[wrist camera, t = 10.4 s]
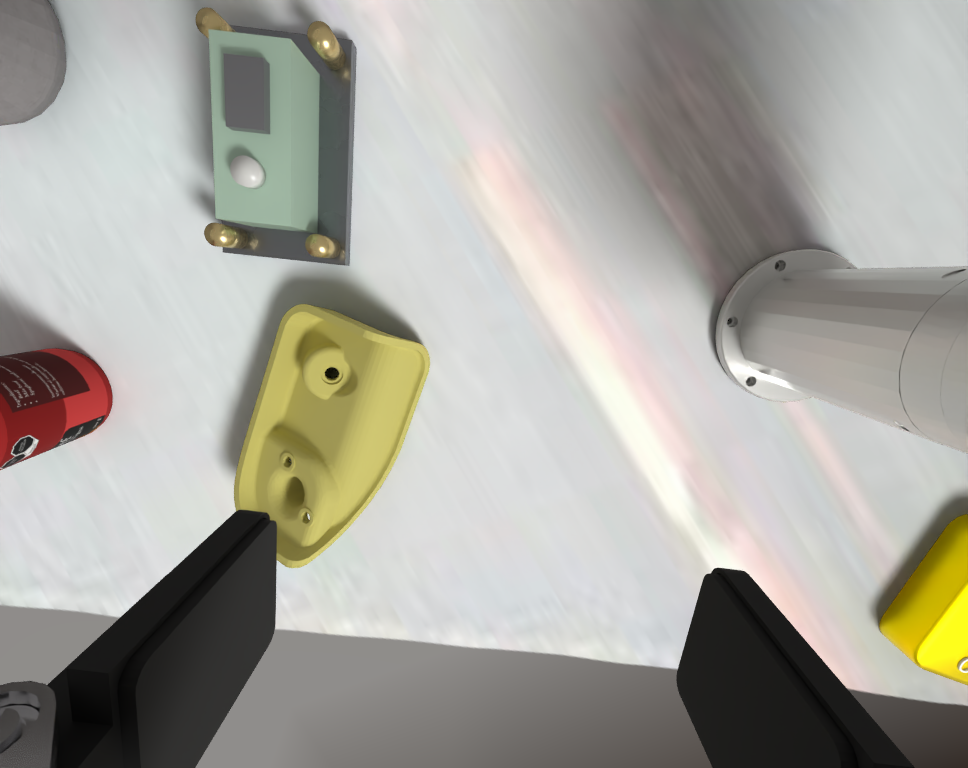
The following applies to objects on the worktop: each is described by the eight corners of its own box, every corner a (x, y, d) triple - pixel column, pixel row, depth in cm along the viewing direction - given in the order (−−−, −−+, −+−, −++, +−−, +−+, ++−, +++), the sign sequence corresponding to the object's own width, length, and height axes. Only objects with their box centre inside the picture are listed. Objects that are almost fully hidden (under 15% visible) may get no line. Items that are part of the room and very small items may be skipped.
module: (319, 74, 32) (283, 30, 26) (317, 233, 35) (284, 224, 29) (249, 66, 32) (198, 20, 26) (253, 226, 35) (206, 216, 29)
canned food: (38, 434, 40) (-125, 491, 29) (17, 345, 38) (-164, 372, 27) (124, 435, 40) (-7, 493, 29) (107, 346, 38) (-39, 374, 27)
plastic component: (288, 295, 35) (387, 339, 31) (350, 310, 42) (437, 347, 38) (220, 518, 38) (304, 581, 34) (289, 497, 45) (365, 548, 41)
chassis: (356, 48, 33) (338, 16, 29) (349, 265, 37) (332, 264, 33) (225, 32, 33) (188, -2, 29) (231, 253, 36) (199, 250, 32)
